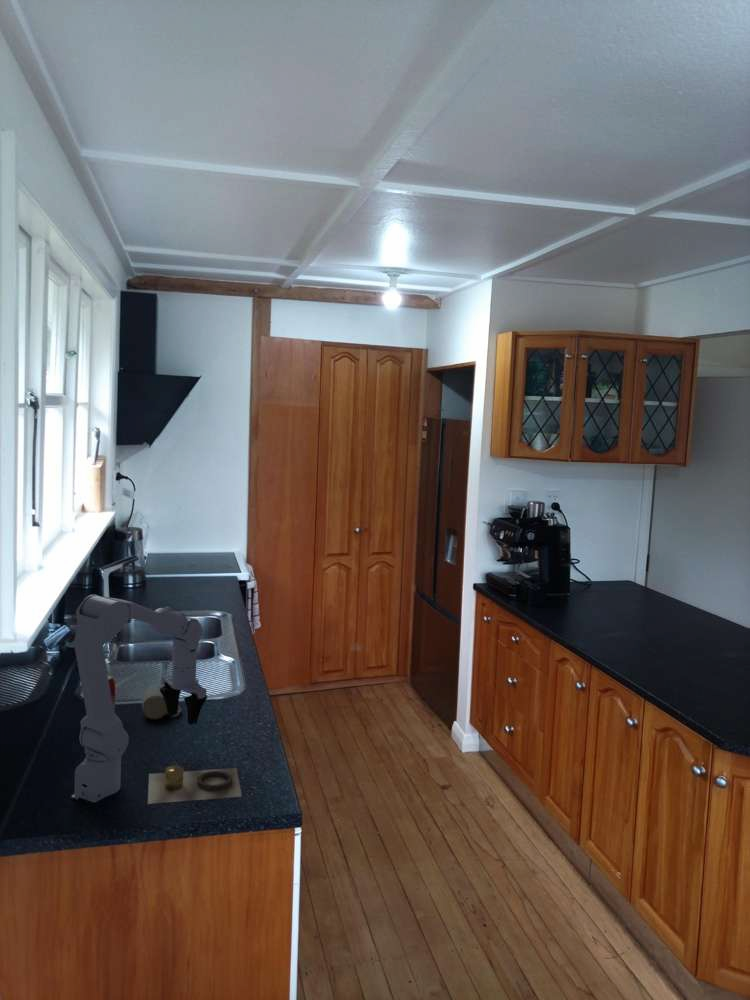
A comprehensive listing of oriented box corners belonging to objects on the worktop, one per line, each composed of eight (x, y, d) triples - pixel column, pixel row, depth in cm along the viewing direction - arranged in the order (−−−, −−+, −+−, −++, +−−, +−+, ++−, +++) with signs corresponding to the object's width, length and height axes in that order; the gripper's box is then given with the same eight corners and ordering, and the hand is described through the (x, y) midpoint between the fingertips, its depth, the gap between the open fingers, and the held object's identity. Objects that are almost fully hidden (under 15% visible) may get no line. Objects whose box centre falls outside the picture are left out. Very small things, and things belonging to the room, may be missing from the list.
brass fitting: (183, 790, 172) (183, 772, 172) (164, 791, 171) (165, 774, 171) (182, 781, 176) (183, 764, 176) (164, 782, 175) (165, 766, 175)
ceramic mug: (141, 721, 211) (142, 694, 210) (142, 710, 219) (143, 684, 218) (181, 720, 214) (182, 693, 213) (180, 709, 221) (181, 683, 221)
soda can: (86, 725, 207) (86, 681, 205) (88, 715, 213) (89, 673, 212) (114, 723, 209) (114, 680, 207) (115, 713, 215) (116, 672, 214)
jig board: (147, 808, 166) (147, 798, 166) (149, 778, 179) (149, 769, 179) (241, 800, 171) (242, 791, 171) (236, 772, 184) (236, 763, 184)
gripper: (216, 668, 187) (214, 722, 189) (178, 655, 196) (176, 706, 197) (193, 675, 182) (192, 730, 183) (155, 661, 190) (153, 714, 192)
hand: (182, 719), depth 190 cm, fingers open, 7 cm apart
